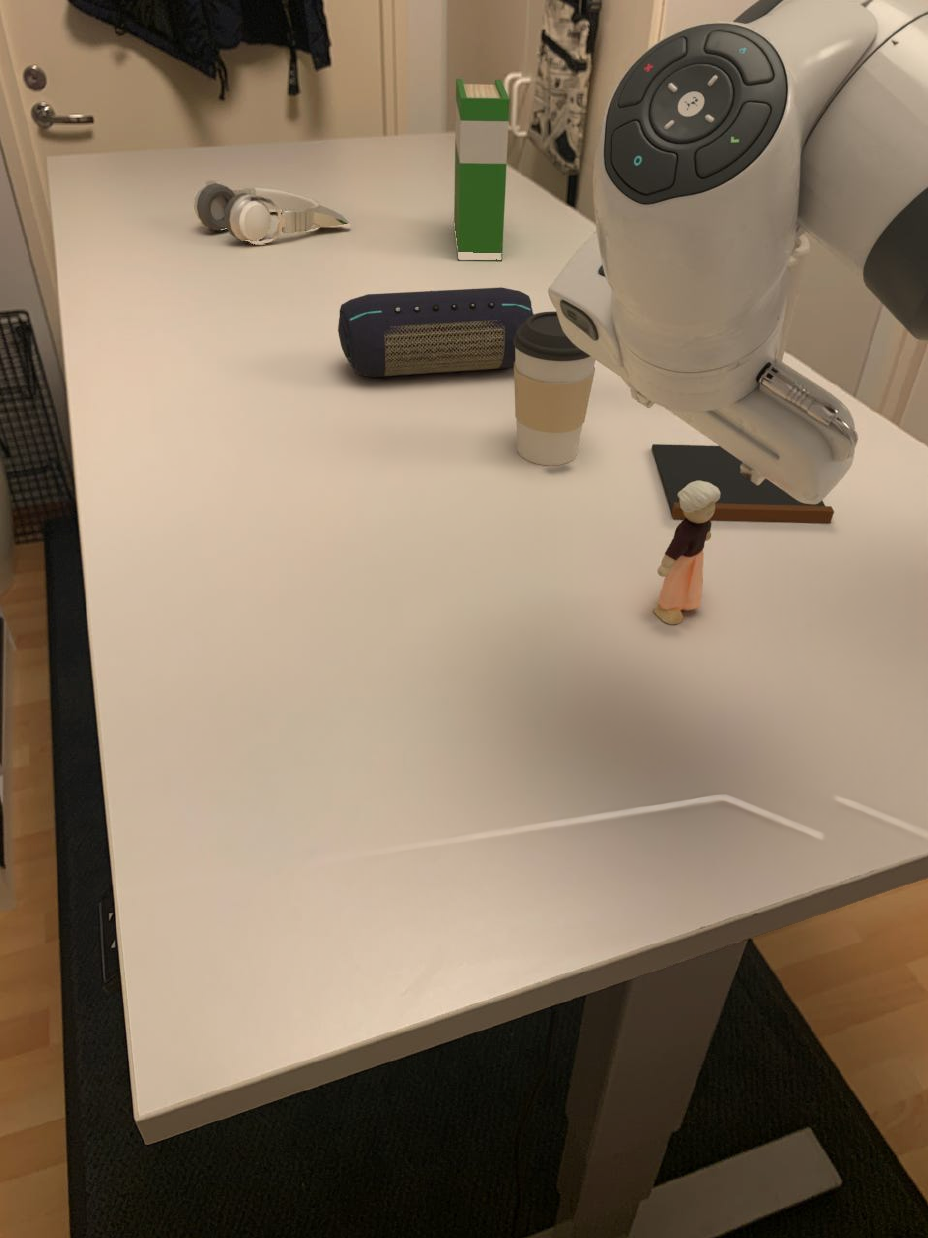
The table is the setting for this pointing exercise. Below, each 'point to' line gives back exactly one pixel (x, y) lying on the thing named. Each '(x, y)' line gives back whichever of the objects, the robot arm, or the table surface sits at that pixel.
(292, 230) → the headphones
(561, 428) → the coffee cup
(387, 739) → the table surface
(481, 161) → the hardback book
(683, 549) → the grandmother figurine
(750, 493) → the chalkboard
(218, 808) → the table surface
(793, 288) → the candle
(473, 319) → the portable speaker
